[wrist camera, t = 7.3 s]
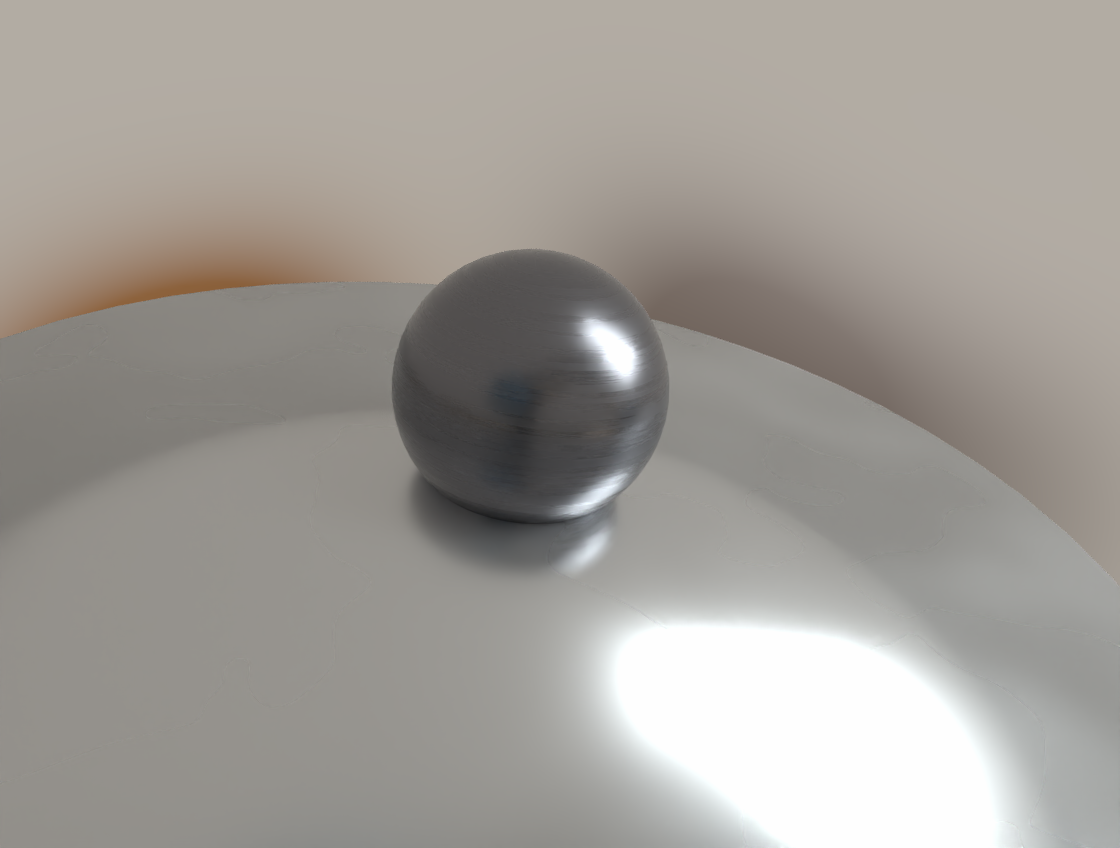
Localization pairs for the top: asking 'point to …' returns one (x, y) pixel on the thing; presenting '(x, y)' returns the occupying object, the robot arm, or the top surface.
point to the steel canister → (518, 588)
